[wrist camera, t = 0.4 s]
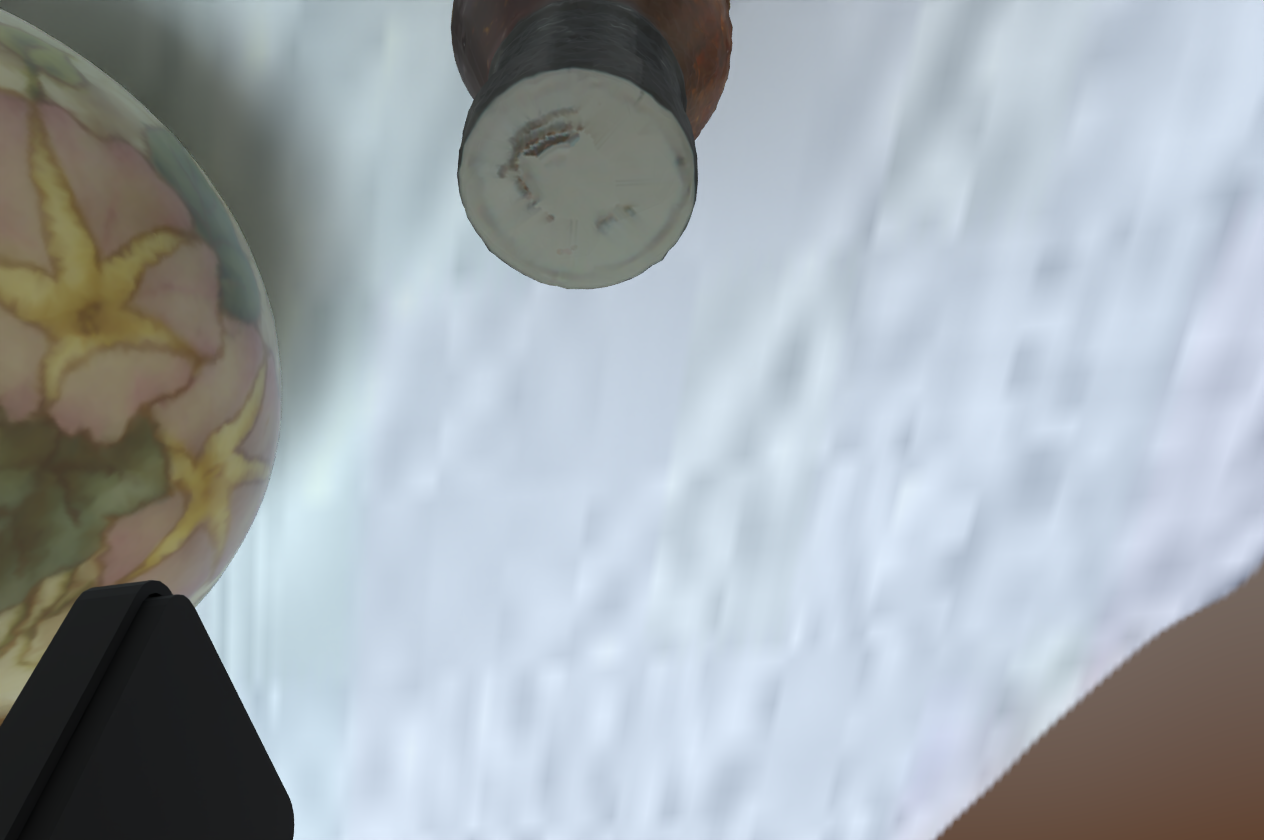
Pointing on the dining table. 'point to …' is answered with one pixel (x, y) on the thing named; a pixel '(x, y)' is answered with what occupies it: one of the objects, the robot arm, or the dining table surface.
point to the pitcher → (117, 353)
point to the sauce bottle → (585, 128)
